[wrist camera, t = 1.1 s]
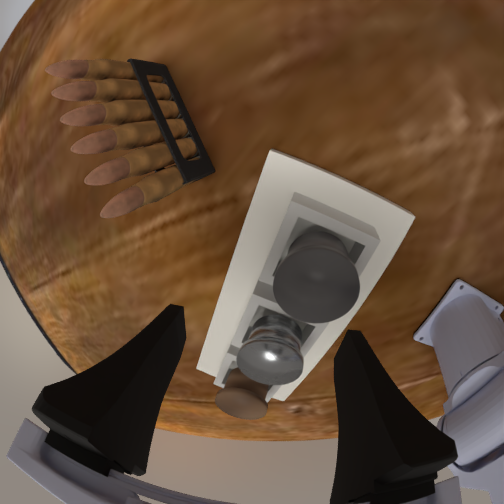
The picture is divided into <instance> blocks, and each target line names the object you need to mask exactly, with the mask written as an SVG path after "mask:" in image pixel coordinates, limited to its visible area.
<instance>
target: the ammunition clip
mask: <svg viewBox="0 0 504 504" xmlns="http://www.w3.org/2000/svg"><path fill="white" fill-rule="evenodd" d="M129 62H130V63H129ZM45 71H46V72H47V73H49V74H51V75H54V76H57V77H62V78H69V79H82V80H90V81H80V82H73V83H69V84H66V85H63V86H60V87H58V88H56V89H55V90H53V91H52V93H51V94H52V95H53V96H54V97H57V98H59V99H63V100H69V101H98V102H102V103H101V104H96V105H88V106H84V107H80V108H77V109H74V110H72V111H70V112H68V113H66V114H65V115H63V116H62V117H61V118H60V121H61V122H62V123H64V124H67V125H72V126H92V125H113V126H116V125H121V126H118V127H115V128H111V129H108V130H104V131H99V132H96V133H93V134H90V135H88V136H86V137H84V138H82V139H80V140H79V141H77V142H76V143H75V144H74V145H73V146H72V147H71V151H72V152H75V153H79V154H95V153H103V152H107V151H114V150H129V149H134V148H138V147H142V146H143V147H142V148H138V149H135V150H133V151H131V152H130V153H128V154H126V155H123V156H121V157H118V158H116V159H113V160H110V161H108V162H106V163H104V164H102V165H100V166H99V167H97V168H96V169H94V170H93V171H92V172H90V173H89V174H88V176H87V177H86V178H85V180H84V182H85V184H88V185H104V184H109V183H113V182H116V181H119V180H121V179H126V178H129V177H132V176H141V175H144V174H147V173H149V172H152V171H155V172H156V173H153V174H151V175H148V176H146V177H144V178H143V179H142V180H141V181H140V182H138V183H137V184H135V185H133V186H131V187H130V188H128V189H126V190H124V191H122V192H121V193H119V194H118V195H116V196H115V197H114V198H112V199H111V200H110V201H109V202H108V203H107V204H106V205H105V206H104V208H103V209H102V211H101V213H100V216H101V217H102V218H112V217H117V216H121V215H124V214H126V213H129V212H131V211H133V210H135V209H137V208H139V207H142V206H144V205H146V204H148V203H153V202H156V201H159V200H160V199H162V198H164V197H166V196H167V195H169V194H171V193H173V192H175V191H176V190H178V189H180V188H182V187H184V186H186V185H188V184H190V183H192V182H195V181H197V180H199V179H201V178H203V177H206V176H208V175H210V174H212V173H214V172H215V169H214V167H213V165H212V163H211V160H210V158H209V156H208V154H207V152H206V150H205V148H204V146H203V143H202V141H201V139H200V137H199V135H198V133H197V131H196V128H195V126H194V124H193V122H192V120H191V118H190V116H189V114H188V111H187V109H186V107H185V105H184V103H183V101H182V99H181V97H180V94H179V92H178V90H177V88H176V86H175V84H174V82H173V80H172V77H171V75H170V73H169V71H168V69H167V67H166V65H164V64H159V63H154V62H148V61H143V60H137V59H129V60H127V62H123V61H116V60H109V59H97V60H67V61H62V62H58V63H54V64H52V65H50V66H48V67H46V69H45ZM161 142H163V143H161ZM156 143H159V144H156ZM153 144H155V145H153ZM174 163H176V165H173V166H171V167H168V168H166V169H165V168H164V167H165V166H168V165H171V164H174Z"/></svg>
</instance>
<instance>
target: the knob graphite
mask: <svg viewBox="0 0 504 504" xmlns="http://www.w3.org/2000/svg"><path fill="white" fill-rule="evenodd" d="M273 293H274V297H275V299H276V301H277V303H278V305H279V306H280V307H281V309H282V310H283V311H284V312H285V313H287V314H288V315H289V316H291V317H293V318H295V319H297V320H299V321H303V322H307V323H327V322H331V321H334V320H336V319H339V318H340V317H342V316H344V315H345V314H346V313H348V312H349V311H350V310H351V309H352V307H353V306H354V305H355V303H356V301H357V299H358V297H359V293H360V281H359V276H358V272H357V269H356V267H355V265H354V263H353V262H352V260H351V259H350V258H349V256H348V252H347V249H346V247H345V245H344V244H343V242H342V241H341V240H340V239H339V238H337V237H336V236H334V235H332V234H330V233H327V232H323V231H313V232H308V233H305V234H303V235H301V236H299V237H298V238H297V239H295V241H294V242H293V243H292V244H291V246H290V247H289V250H288V253H287V256H286V257H285V258H284V259H283V260H282V261H281V263H280V264H279V266H278V268H277V270H276V273H275V277H274V281H273Z"/></svg>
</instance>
